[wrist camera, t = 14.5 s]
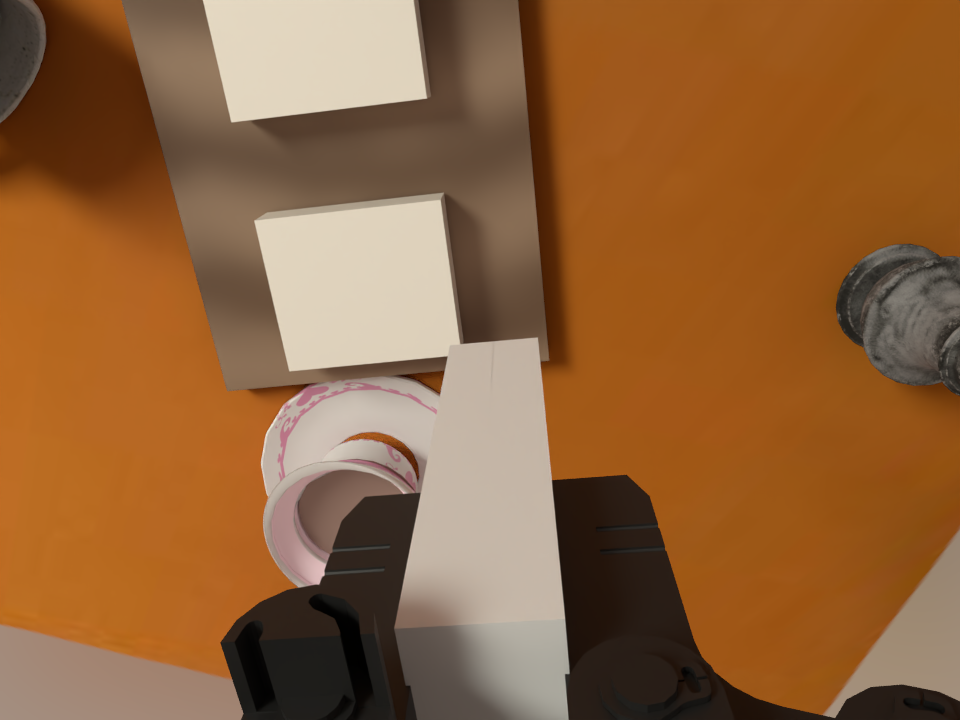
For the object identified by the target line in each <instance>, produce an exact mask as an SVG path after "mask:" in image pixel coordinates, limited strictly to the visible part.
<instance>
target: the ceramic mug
mask: <svg viewBox="0 0 960 720" xmlns="http://www.w3.org/2000/svg"><path fill="white" fill-rule="evenodd" d="M45 47H46V25H45V21H44V18H43V15H42V13H41V11H40V9H39V7H38V6H37V5H36V4H35V2H34V1H33V0H0V123H1V122H2V121H3V120H5V119H6V118H7V117H8V116H9V115H10V114H11V113H12V112H13V111H14V110H15V108H16V107H17V106H18V104H19V103H20V102H21V100H22V99H23V97H24V96H25V94H26V93H27V91H28V89H29V88H30V86H31V85H32V83H33V82H34V79H35V77H36V75H37V73H38V71H39V69H40V65H41V62H42V60H43V56H44V52H45Z"/></svg>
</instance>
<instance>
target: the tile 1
mask: <svg viewBox="0 0 960 720" xmlns="http://www.w3.org/2000/svg"><path fill="white" fill-rule="evenodd" d="M203 3H204V7H205V11H206V16H207V20H208V24H209V28H210V33H211V37H212V41H213V46H214V50H215V54H216V59H217V63H218V67H219V71H220V76H221V80H222V84H223V89H224V93H225V97H226V102H227V106H228V110H229V114H230V119H231V122H239V121H248V120H256V119H264V118H272V117H280V116H288V115H297V114H305V113H313V112H321V111H329V110H338V109H346V108H354V107H362V106H370V105H378V104H387V103H395V102H403V101H411V100H419V99H427V98H429V97H431V92H430V84H429V77H428V69H427V62H426V54H425V47H424V39H423V32H422V24H421V17H420V9H419V2H418V0H203Z"/></svg>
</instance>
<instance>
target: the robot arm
mask: <svg viewBox="0 0 960 720" xmlns="http://www.w3.org/2000/svg"><path fill="white" fill-rule="evenodd" d="M332 549H333V551H332V553H330V555H329V558H328V561H327V564H326V567H325V570H324V572H325V574H324V576H322V578H321V581H320V584H319V585H318V584H315V585H310V586H305V587H300V588H295V589H289V590H286V591H284V592H282V593H280V594H277V595H275V596H273V597H271V598H268V599H266V600H264V601H262V602H260V603H258V604H257V605H256V606H255V607H253V608H252V609H251V610H249V611H248V612H247V613H246V614H244V615H243V616H242V617H240V618H239V619H238V620H237V621H236V622H235V623H234V625H233V626H232V627H231V629H230V630H229V632H228V633H227V634H226V636H225V637H224V638H223V640H222V641H221V646H222V649H223V652H224V655H225V658H226V661H227V664H228V667H229V670H230V674H231V677H232V680H233V683H234V686H235V689H236V692H237V695H238V698H239V701H240V704H241V707H242V710H243V713H244V714H243V717H242V719H241V720H960V701H958V700H956V699H953V698H951V697H949V696H947V695H945V694H942V693H940V692H937V691H932V690H927V689H922V688H917V687H912V686H907V685H892V686H879V687H870V688H868V689H866V690H864V691H862V692H860V693H858V694H857V695H854V696H853V697H851V698H849V699H847V700H846V701H845V703H844V705H843V706H842V708H841V710H840V711H839V713H838V715H837V716H836V718H832V717H827V716H823V715H818V714H814V713H809V712H805V711H800V710H796V709H791V708H787V707H782V706H779V705H775V704H772V703H769V702H766V701H763V700H759V699H756V698H754V697H752V696H750V695H748V694H746V693H744V692H743V691H741V690H739V689H737V688H735V687H733V686H732V685H730V684H729V683H728V682H727V681H725V680H724V679H723V678H721V677H720V676H719V675H718V674H716V673H715V672H714V670H713V669H712V667H711V665H709V664H708V663H707V662H706V661H705V660H704V659H703V658H702V656H701V654H700V652H699V650H698V648H697V646H696V644H695V642H694V639H693V636H692V632H691V629H690V626H689V623H688V619H687V616H686V613H685V610H684V606H683V603H682V600H681V597H680V594H679V590H678V587H677V584H676V581H675V577H674V574H673V571H672V568H671V564H670V561H669V558H668V555H667V552H666V551H665V545H664V542H663V539H662V535H661V532H660V529H659V528H658V522H657V519H656V516H655V513H654V509H653V506H652V503H651V500H650V497H649V495H648V494H647V493H645V492H644V491H643V490H642V489H641V488H640V487H639V486H638V485H637V484H636V483H635V482H634V481H633V480H631V479H630V478H629V477H628V476H627V475H618V476H605V477H591V478H577V479H563V480H552V478H551V468H550V458H549V447H548V437H547V427H546V416H545V406H544V396H543V385H542V375H541V365H540V355H539V344H538V337H537V338H526V339H515V340H503V341H492V342H481V343H469V344H458V345H450V348H449V353H448V358H447V363H446V368H445V373H444V378H443V383H442V388H441V393H440V399H439V404H438V409H437V414H436V419H435V424H434V429H433V434H432V439H431V444H430V449H429V454H428V460H427V465H426V470H425V475H424V480H423V485H422V490H421V493H408V494H394V495H380V496H366V497H364V498H363V499H362V500H361V501H360V502H359V503H358V504H357V505H356V506H355V507H354V508H353V509H352V510H351V511H350V513H349V514H348V515H347V516H346V517H345V518H344V519H343V520H342V521H341V524H340V527H339V530H338V533H337V536H336V538H335V541H334V544H333V547H332Z"/></svg>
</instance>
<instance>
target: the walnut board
mask: <svg viewBox="0 0 960 720" xmlns="http://www.w3.org/2000/svg"><path fill="white" fill-rule="evenodd" d="M418 2H419V9H420V17H421V24H422V32H423V39H424V47H425V54H426V62H427V69H428V77H429V84H430V92H431V97H429V98H427V99H419V100H411V101H403V102H395V103H387V104H378V105H370V106H362V107H354V108H346V109H338V110H329V111H321V112H313V113H305V114H297V115H288V116H280V117H272V118H264V119H256V120H248V121H239V122H231V119H230V114H229V110H228V106H227V102H226V97H225V93H224V89H223V84H222V80H221V76H220V71H219V67H218V63H217V59H216V54H215V50H214V46H213V41H212V37H211V33H210V28H209V24H208V20H207V16H206V11H205V7H204V3H203V0H122V4H123V7H124V11H125V15H126V18H127V22H128V26H129V29H130V33H131V37H132V41H133V44H134V48H135V52H136V55H137V59H138V63H139V66H140V70H141V74H142V78H143V81H144V85H145V89H146V92H147V96H148V100H149V103H150V107H151V111H152V114H153V118H154V122H155V126H156V129H157V133H158V137H159V140H160V144H161V148H162V151H163V155H164V159H165V163H166V166H167V170H168V174H169V177H170V181H171V185H172V188H173V192H174V196H175V200H176V203H177V207H178V211H179V214H180V218H181V222H182V225H183V229H184V233H185V237H186V240H187V244H188V248H189V251H190V255H191V259H192V262H193V266H194V270H195V274H196V277H197V281H198V285H199V288H200V292H201V296H202V299H203V303H204V307H205V311H206V314H207V318H208V322H209V325H210V329H211V333H212V336H213V340H214V344H215V347H216V351H217V355H218V359H219V362H220V366H221V370H222V373H223V377H224V381H225V384H226V388H227V391H234V390H245V389H256V388H266V387H277V386H287V385H298V384H308V383H319V382H329V381H340V380H351V379H361V378H372V377H382V376H393V375H403V374H414V373H424V372H435V371H445V368H446V363H447V358H448V356H444V357H434V358H424V359H413V360H403V361H392V362H382V363H372V364H361V365H351V366H340V367H330V368H320V369H309V370H299V371H289V368H288V364H287V359H286V355H285V351H284V347H283V342H282V338H281V334H280V329H279V325H278V321H277V316H276V312H275V308H274V304H273V299H272V295H271V291H270V286H269V282H268V278H267V273H266V269H265V265H264V261H263V256H262V252H261V248H260V243H259V239H258V235H257V230H256V226H255V222H254V220H256V219H258V218H259V217H261V216H262V215H264V214H265V213H267V212H276V211H285V210H294V209H302V208H311V207H320V206H329V205H338V204H347V203H356V202H365V201H373V200H382V199H391V198H400V197H409V196H418V195H427V194H436V193H444V197H445V205H446V212H447V220H448V227H449V235H450V243H451V250H452V258H453V265H454V273H455V280H456V288H457V295H458V303H459V310H460V318H461V325H462V333H463V340H464V341H463V344H469V343H481V342H492V341H503V340H515V339H526V338H537V337H538V344H539V355H540V362H541V361H549V352H548V341H547V329H546V318H545V306H544V295H543V283H542V271H541V260H540V248H539V237H538V225H537V214H536V202H535V191H534V179H533V168H532V156H531V144H530V133H529V121H528V110H527V98H526V87H525V75H524V64H523V52H522V40H521V29H520V17H519V6H518V0H418Z"/></svg>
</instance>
